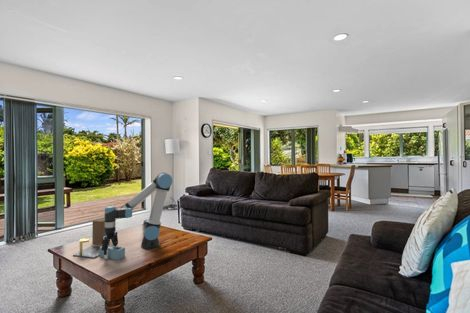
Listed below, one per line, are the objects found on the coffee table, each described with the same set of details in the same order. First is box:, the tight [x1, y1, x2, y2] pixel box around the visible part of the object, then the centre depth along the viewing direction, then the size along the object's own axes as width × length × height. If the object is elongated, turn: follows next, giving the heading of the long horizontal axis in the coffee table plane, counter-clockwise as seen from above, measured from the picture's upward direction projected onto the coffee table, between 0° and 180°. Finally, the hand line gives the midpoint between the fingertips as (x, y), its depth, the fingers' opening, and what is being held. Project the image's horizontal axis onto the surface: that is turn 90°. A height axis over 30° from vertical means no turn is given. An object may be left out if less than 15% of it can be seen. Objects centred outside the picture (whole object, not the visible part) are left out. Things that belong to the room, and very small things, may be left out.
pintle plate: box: [72, 237, 101, 259], centre depth 197 cm, size 20×20×11 cm
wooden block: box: [91, 218, 108, 245], centre depth 221 cm, size 10×10×20 cm
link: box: [99, 245, 126, 261], centre depth 189 cm, size 18×7×7 cm, turn 77°
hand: (110, 256), depth 189 cm, fingers open, 8 cm apart
